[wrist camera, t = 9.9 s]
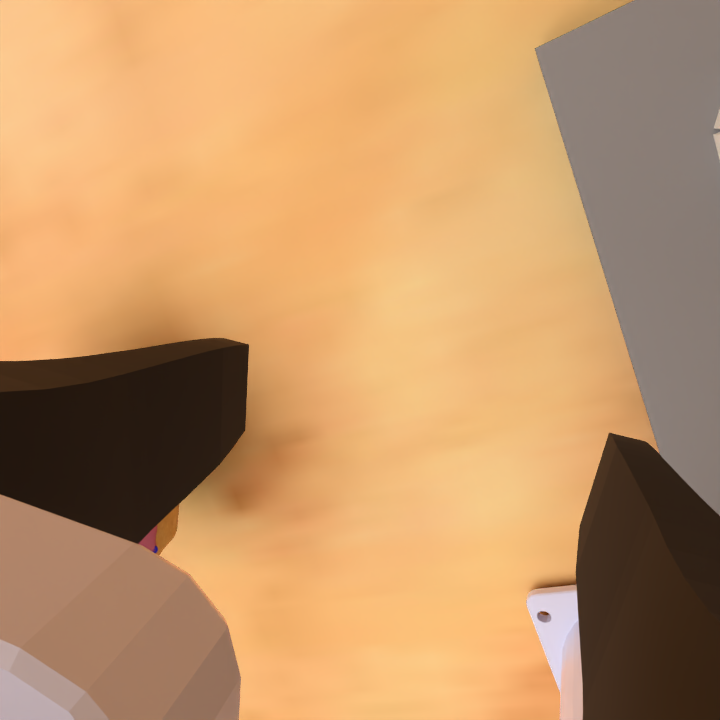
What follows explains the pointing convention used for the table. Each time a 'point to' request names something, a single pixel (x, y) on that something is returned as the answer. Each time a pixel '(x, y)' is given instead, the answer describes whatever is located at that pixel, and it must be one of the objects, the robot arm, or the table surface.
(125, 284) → the table surface
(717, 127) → the sleeve
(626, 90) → the duct board
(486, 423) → the table surface
